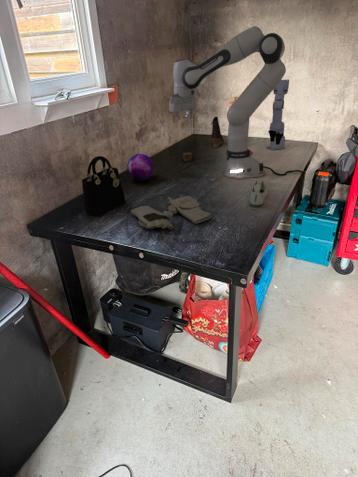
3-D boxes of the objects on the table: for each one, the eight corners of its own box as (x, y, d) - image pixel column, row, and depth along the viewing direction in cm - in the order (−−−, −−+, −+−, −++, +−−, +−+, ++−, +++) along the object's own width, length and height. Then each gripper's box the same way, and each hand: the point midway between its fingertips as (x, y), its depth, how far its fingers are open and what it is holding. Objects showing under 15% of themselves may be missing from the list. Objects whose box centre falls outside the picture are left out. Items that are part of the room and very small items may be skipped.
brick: (190, 158, 222) (190, 152, 219) (191, 160, 218) (191, 153, 216) (183, 159, 221) (183, 153, 219) (184, 161, 218) (184, 154, 215)
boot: (224, 140, 260) (225, 113, 250) (221, 148, 240) (222, 119, 230) (213, 140, 262) (213, 113, 252) (210, 148, 242) (209, 119, 232)
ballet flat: (269, 188, 169) (270, 173, 165) (265, 208, 149) (266, 191, 145) (252, 187, 171) (253, 172, 167) (246, 206, 151) (247, 190, 147)
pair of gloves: (147, 237, 131) (146, 225, 129) (129, 213, 152) (128, 202, 149) (214, 220, 141) (214, 209, 138) (188, 199, 162) (188, 189, 159)
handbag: (98, 217, 149) (87, 164, 137) (84, 214, 154) (72, 161, 141) (127, 201, 164) (120, 151, 152) (113, 198, 169) (105, 149, 156)
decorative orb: (160, 177, 192) (157, 152, 184) (144, 186, 181) (141, 159, 174) (139, 174, 199) (137, 149, 192) (123, 182, 189) (119, 156, 181)
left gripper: (175, 95, 173) (176, 122, 180) (196, 90, 187) (196, 116, 194) (165, 94, 176) (167, 121, 183) (187, 90, 190) (187, 115, 197)
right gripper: (265, 119, 212) (264, 141, 219) (276, 123, 200) (274, 146, 207) (276, 118, 213) (274, 139, 220) (287, 122, 201) (284, 145, 208)
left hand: (182, 118), depth 188 cm, fingers open, 8 cm apart
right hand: (274, 142), depth 213 cm, fingers open, 7 cm apart
